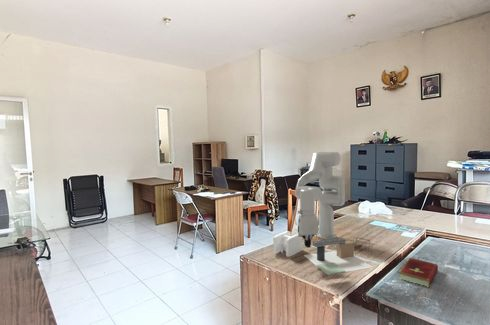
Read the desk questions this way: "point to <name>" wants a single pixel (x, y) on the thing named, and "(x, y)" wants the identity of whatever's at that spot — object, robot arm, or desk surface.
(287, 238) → the cable organizer
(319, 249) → the cable plug
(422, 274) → the hardcover book
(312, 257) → the cable panel
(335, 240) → the bar
